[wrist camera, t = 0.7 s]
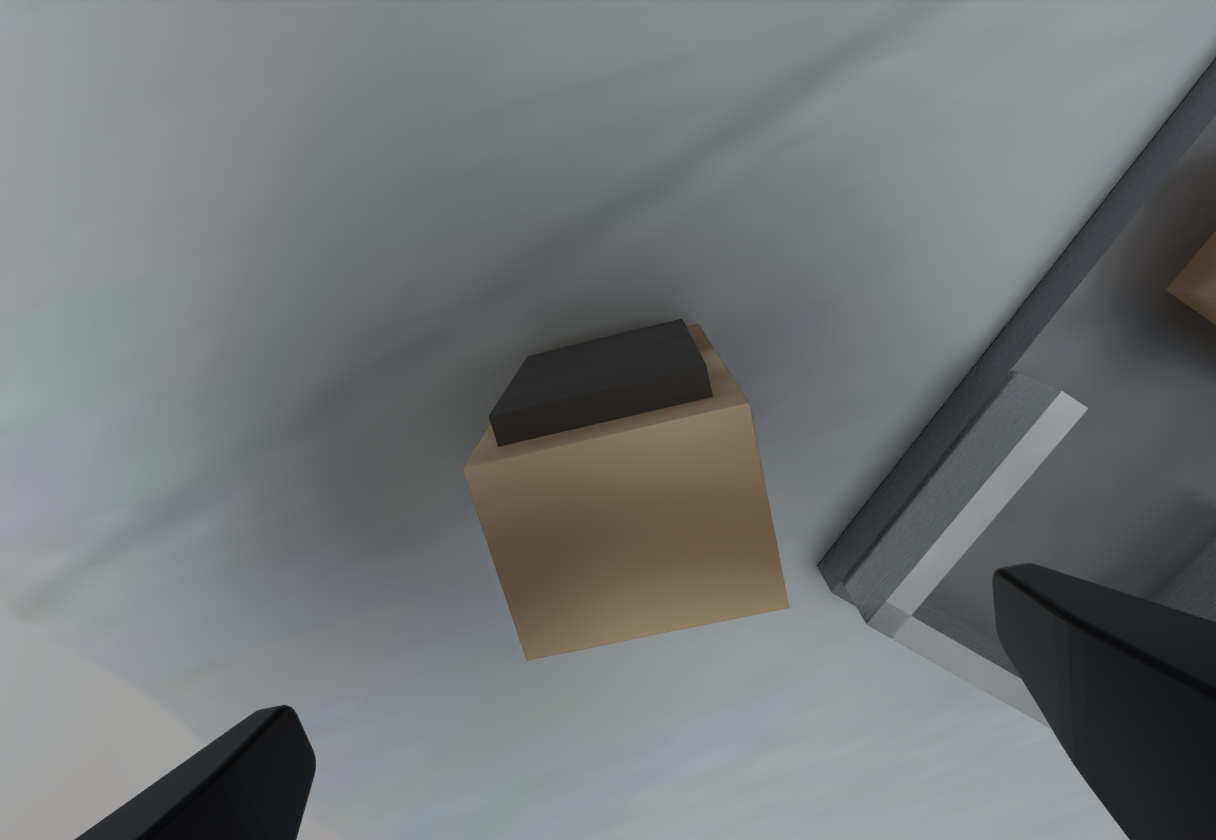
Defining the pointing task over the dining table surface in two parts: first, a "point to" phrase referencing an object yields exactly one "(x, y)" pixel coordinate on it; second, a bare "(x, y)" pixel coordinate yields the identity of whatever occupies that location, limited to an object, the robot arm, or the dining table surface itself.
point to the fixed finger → (1199, 281)
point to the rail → (1065, 436)
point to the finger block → (625, 493)
